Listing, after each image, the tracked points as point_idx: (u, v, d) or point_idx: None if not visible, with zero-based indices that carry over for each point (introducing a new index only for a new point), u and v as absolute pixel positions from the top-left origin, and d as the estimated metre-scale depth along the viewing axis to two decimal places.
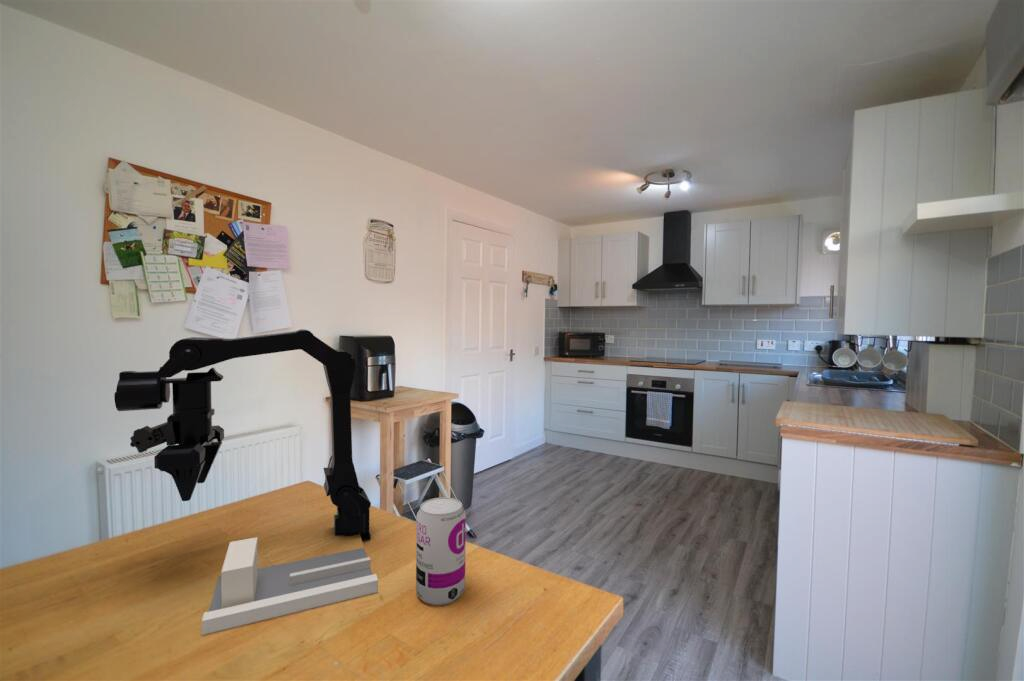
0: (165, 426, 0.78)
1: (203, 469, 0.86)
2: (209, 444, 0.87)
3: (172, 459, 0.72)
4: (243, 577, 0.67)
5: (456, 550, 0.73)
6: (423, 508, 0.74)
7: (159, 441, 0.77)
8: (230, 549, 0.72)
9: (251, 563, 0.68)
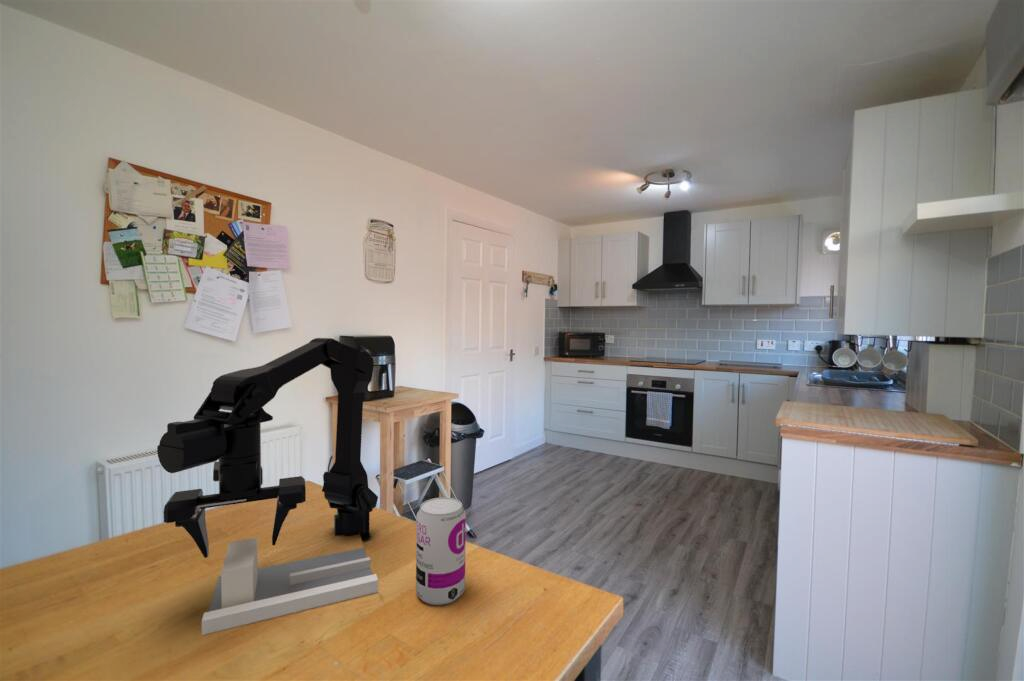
0: None
1: None
2: (279, 503, 0.72)
3: None
4: (243, 577, 0.67)
5: (456, 550, 0.73)
6: (423, 508, 0.74)
7: None
8: (230, 549, 0.72)
9: (251, 563, 0.68)
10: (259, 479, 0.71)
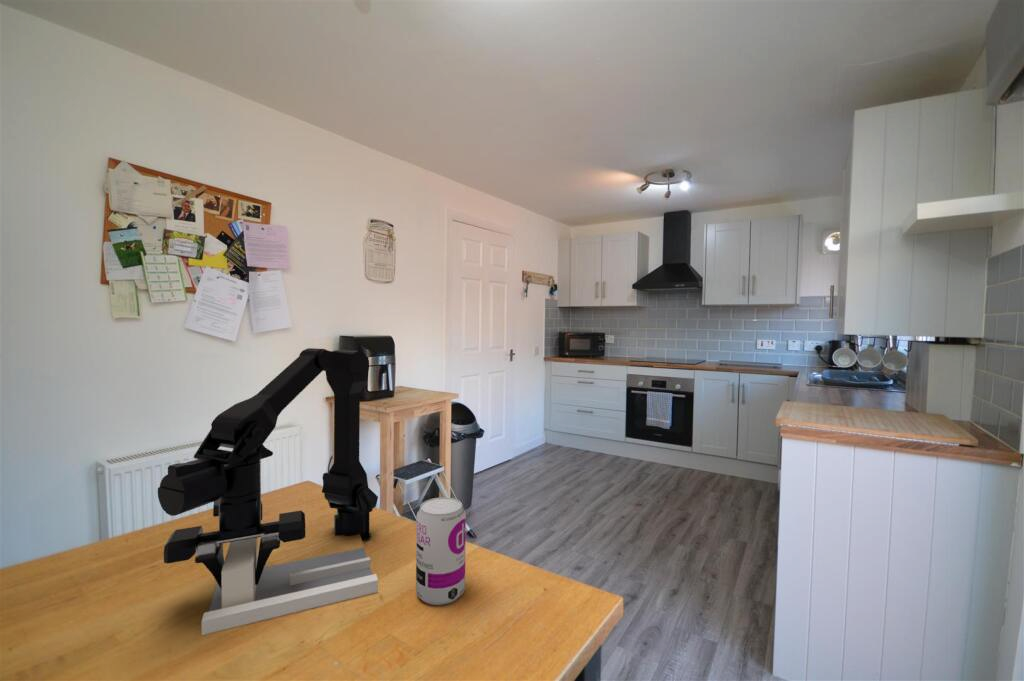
0: None
1: None
2: (261, 542, 0.71)
3: None
4: (243, 577, 0.67)
5: (456, 550, 0.73)
6: (423, 508, 0.74)
7: None
8: (230, 549, 0.72)
9: (251, 563, 0.68)
10: (259, 516, 0.71)
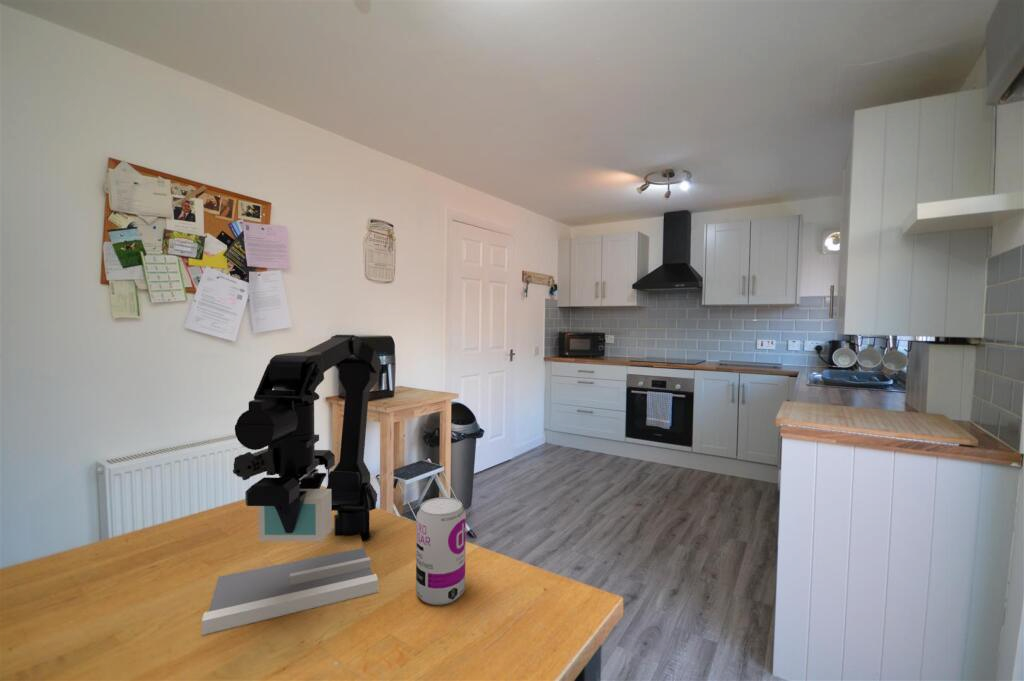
0: (266, 453, 0.70)
1: None
2: (311, 477, 0.76)
3: (261, 497, 0.63)
4: (328, 500, 0.74)
5: (456, 550, 0.73)
6: (423, 508, 0.74)
7: (260, 469, 0.70)
8: None
9: (325, 489, 0.74)
10: None
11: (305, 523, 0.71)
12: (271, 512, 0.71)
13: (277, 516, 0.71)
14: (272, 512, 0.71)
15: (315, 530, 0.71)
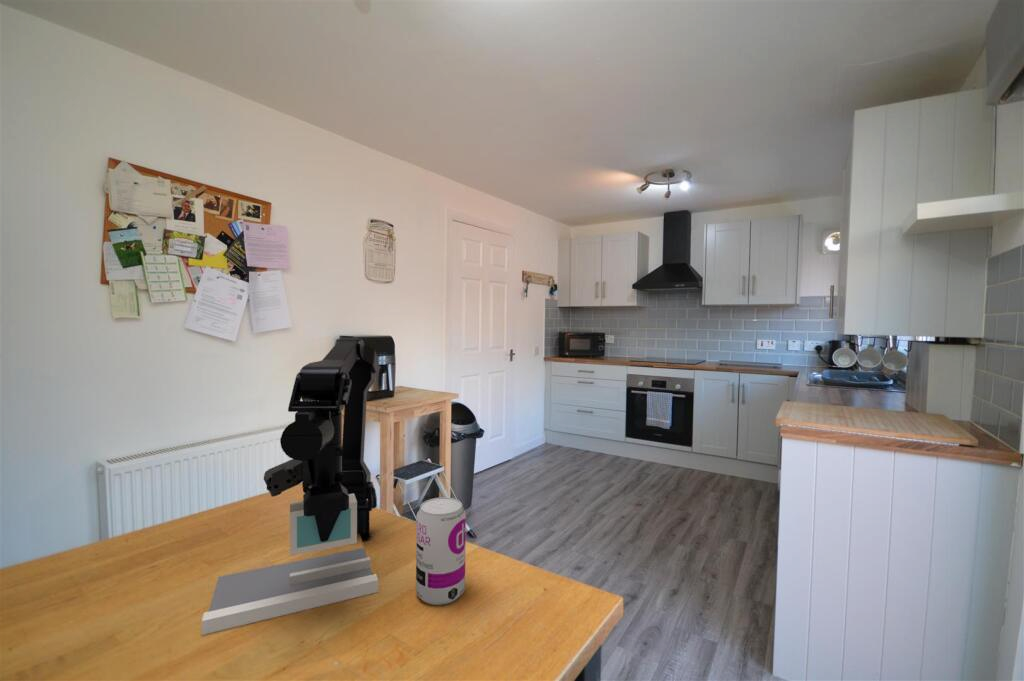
0: (299, 465, 0.70)
1: None
2: None
3: (323, 505, 0.65)
4: None
5: (456, 550, 0.73)
6: (423, 508, 0.74)
7: (294, 482, 0.69)
8: None
9: (348, 494, 0.77)
10: None
11: (340, 528, 0.73)
12: (304, 524, 0.71)
13: (311, 527, 0.71)
14: (305, 524, 0.71)
15: (350, 533, 0.74)
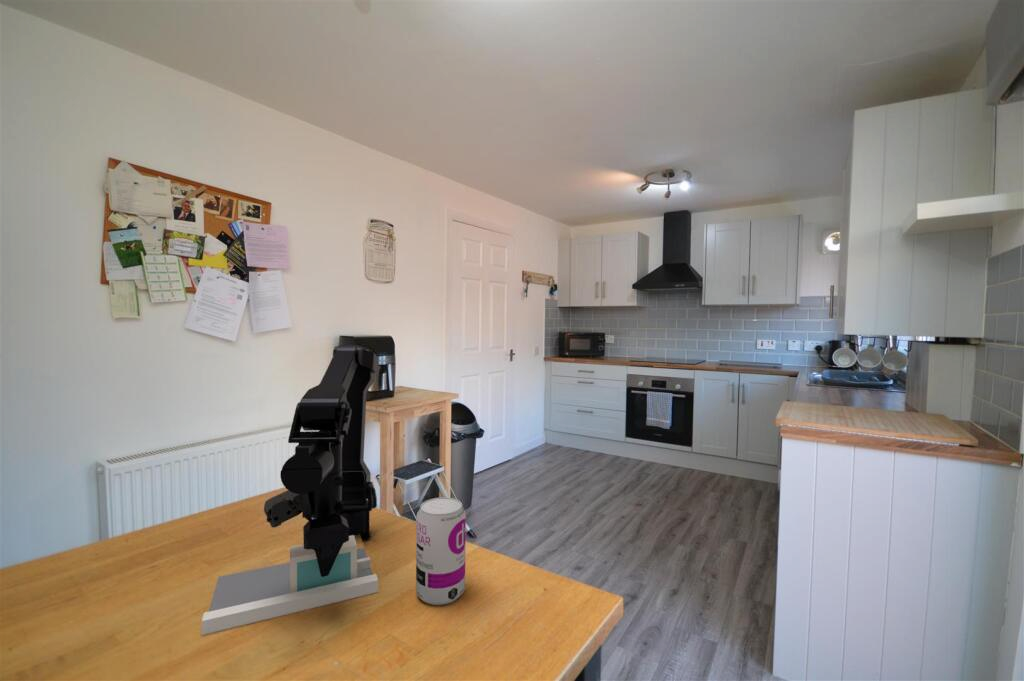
0: (300, 496, 0.70)
1: None
2: None
3: (323, 537, 0.65)
4: None
5: (456, 550, 0.73)
6: (423, 508, 0.74)
7: (294, 513, 0.69)
8: (309, 553, 0.71)
9: None
10: None
11: (340, 572, 0.73)
12: (305, 570, 0.71)
13: (311, 572, 0.71)
14: (305, 569, 0.71)
15: (350, 577, 0.74)
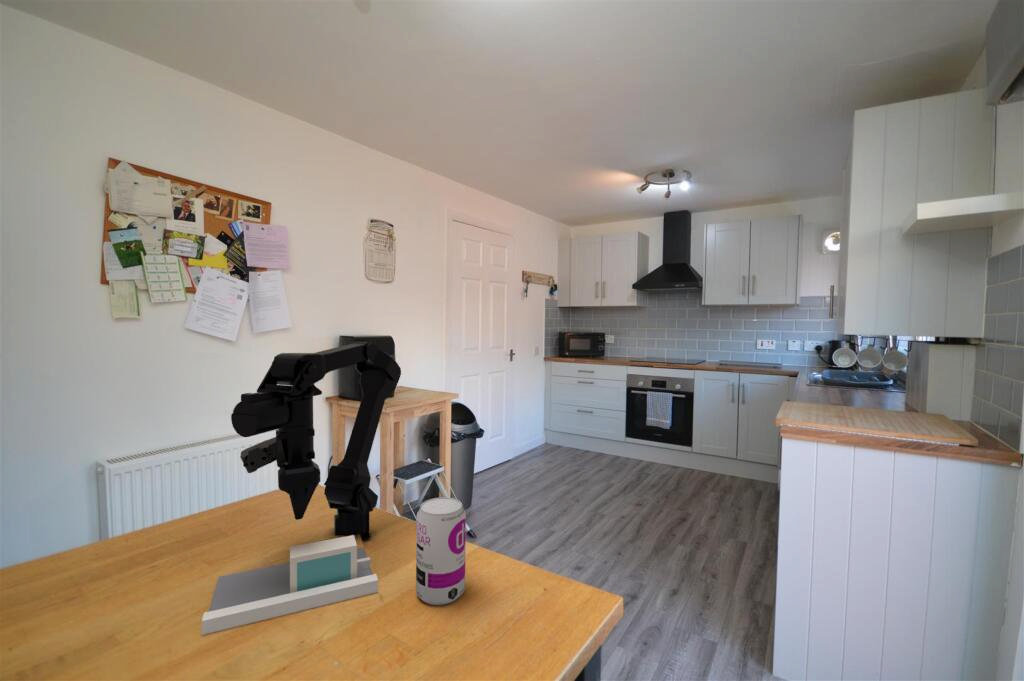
0: (274, 444, 0.76)
1: None
2: None
3: (296, 478, 0.72)
4: None
5: (456, 550, 0.73)
6: (423, 508, 0.74)
7: (269, 460, 0.76)
8: (309, 553, 0.71)
9: (348, 536, 0.77)
10: None
11: (340, 572, 0.73)
12: (305, 570, 0.71)
13: (311, 572, 0.71)
14: (305, 569, 0.71)
15: (350, 577, 0.74)
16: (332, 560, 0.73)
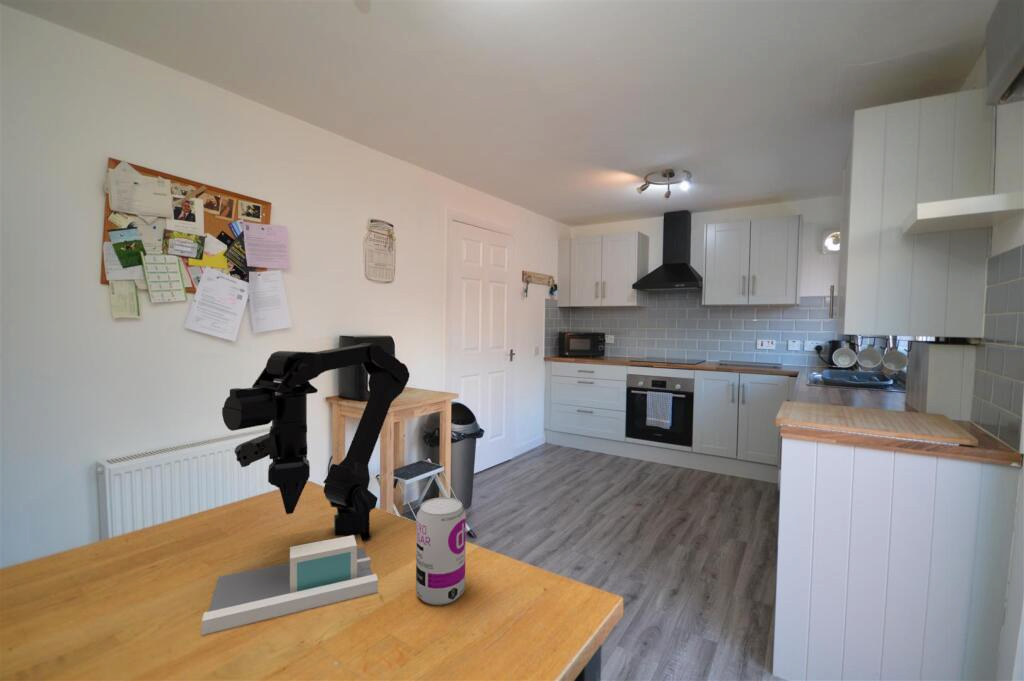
0: (267, 440, 0.78)
1: None
2: None
3: (285, 473, 0.73)
4: None
5: (456, 550, 0.73)
6: (423, 508, 0.74)
7: (262, 455, 0.78)
8: (309, 553, 0.71)
9: (348, 536, 0.77)
10: None
11: (340, 572, 0.73)
12: (305, 570, 0.71)
13: (311, 572, 0.71)
14: (305, 569, 0.71)
15: (350, 577, 0.74)
16: (332, 560, 0.73)
